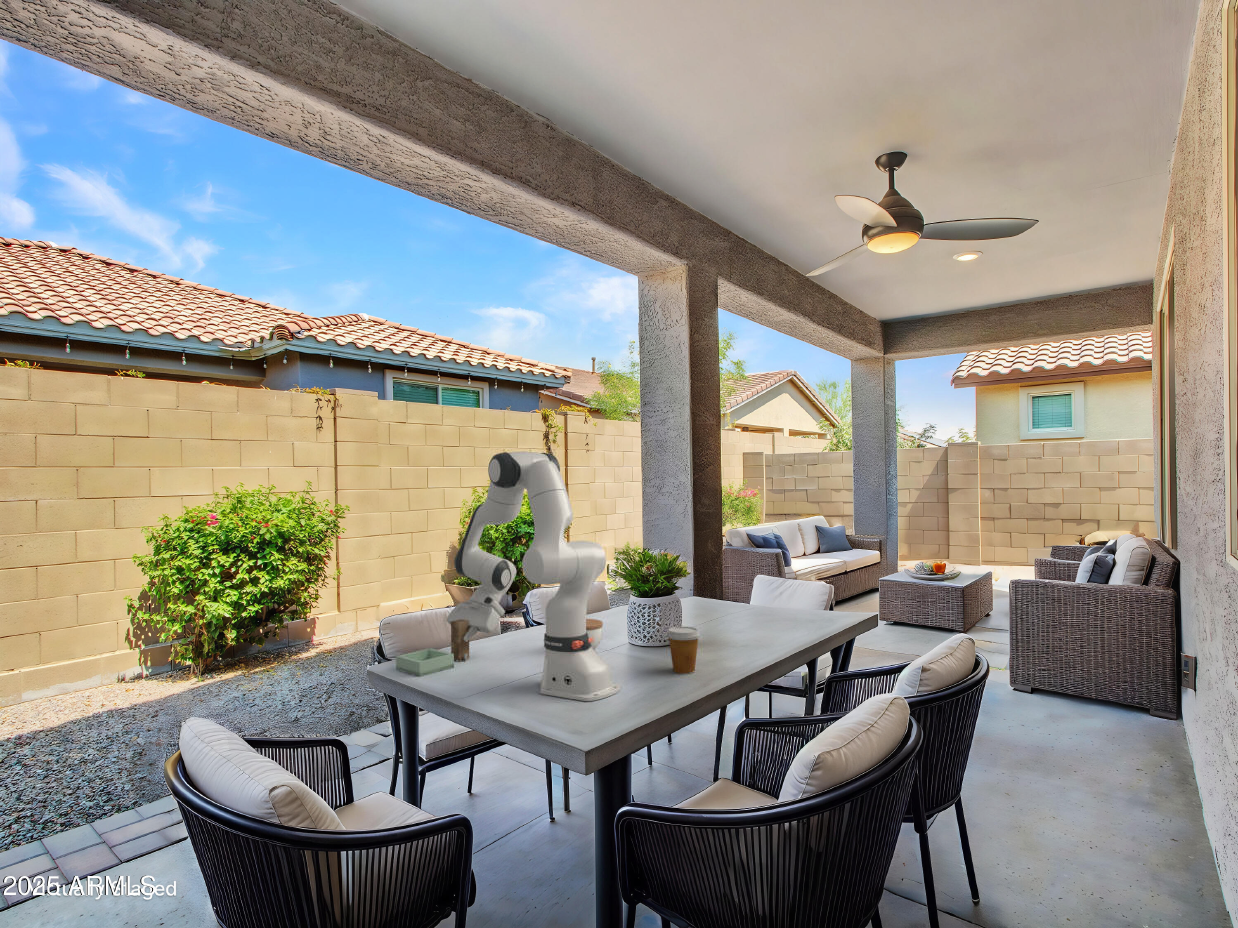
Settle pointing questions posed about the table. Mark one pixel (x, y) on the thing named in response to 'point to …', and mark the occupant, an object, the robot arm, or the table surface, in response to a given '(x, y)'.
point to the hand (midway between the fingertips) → (458, 639)
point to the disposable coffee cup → (683, 648)
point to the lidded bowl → (594, 631)
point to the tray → (424, 662)
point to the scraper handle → (459, 639)
